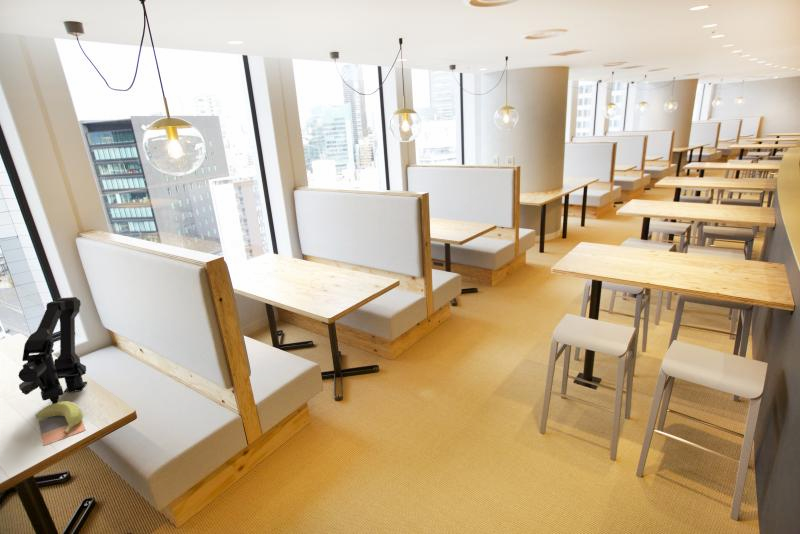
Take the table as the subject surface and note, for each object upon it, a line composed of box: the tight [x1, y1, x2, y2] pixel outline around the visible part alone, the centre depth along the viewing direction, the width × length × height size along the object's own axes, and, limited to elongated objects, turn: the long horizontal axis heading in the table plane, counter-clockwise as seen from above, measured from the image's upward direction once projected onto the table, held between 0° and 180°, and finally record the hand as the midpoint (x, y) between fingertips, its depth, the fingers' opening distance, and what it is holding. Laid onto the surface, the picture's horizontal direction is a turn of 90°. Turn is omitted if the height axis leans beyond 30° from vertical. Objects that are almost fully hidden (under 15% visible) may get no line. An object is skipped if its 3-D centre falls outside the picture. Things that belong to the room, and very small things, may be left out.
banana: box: [35, 400, 84, 434], centre depth 160 cm, size 14×6×20 cm
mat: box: [38, 416, 69, 435], centre depth 162 cm, size 10×12×1 cm
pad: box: [40, 420, 86, 447], centre depth 156 cm, size 8×12×1 cm, turn 133°
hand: (55, 404), depth 168 cm, fingers closed
